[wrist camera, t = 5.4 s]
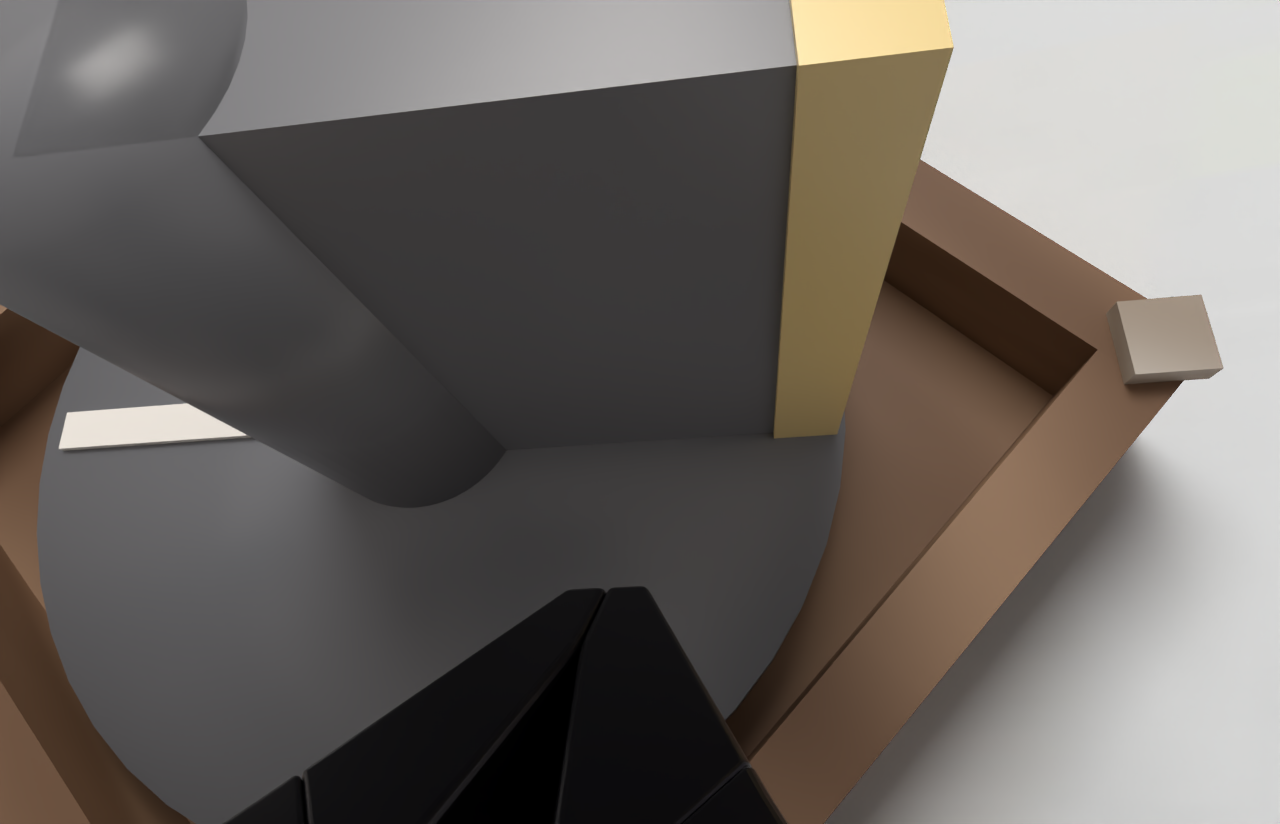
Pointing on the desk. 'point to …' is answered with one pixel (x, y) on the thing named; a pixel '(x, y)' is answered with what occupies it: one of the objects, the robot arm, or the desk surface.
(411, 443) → the knob
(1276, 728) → the desk surface
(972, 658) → the desk surface
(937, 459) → the dial base
